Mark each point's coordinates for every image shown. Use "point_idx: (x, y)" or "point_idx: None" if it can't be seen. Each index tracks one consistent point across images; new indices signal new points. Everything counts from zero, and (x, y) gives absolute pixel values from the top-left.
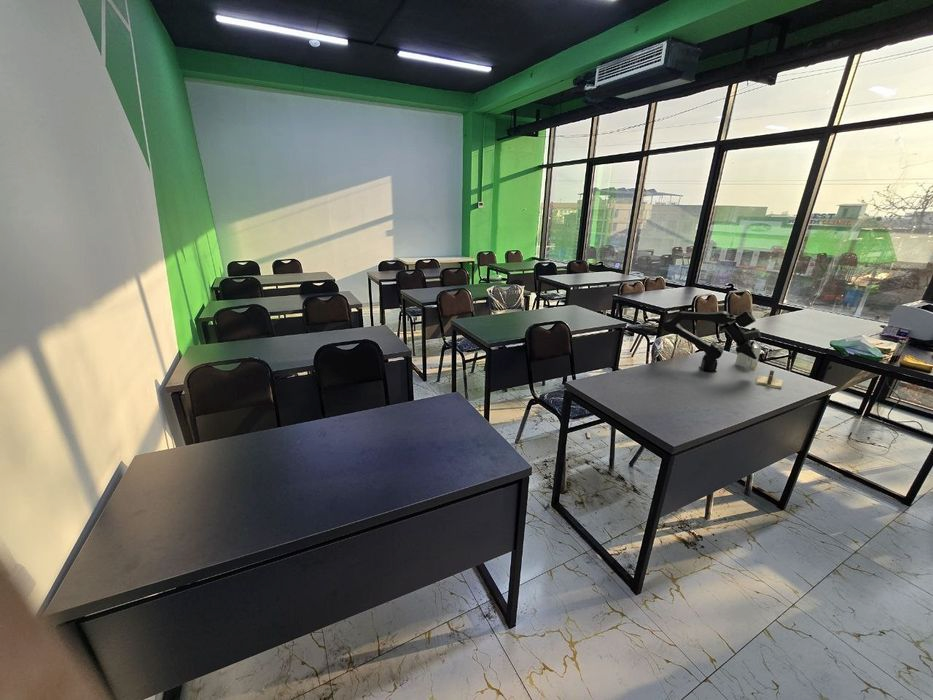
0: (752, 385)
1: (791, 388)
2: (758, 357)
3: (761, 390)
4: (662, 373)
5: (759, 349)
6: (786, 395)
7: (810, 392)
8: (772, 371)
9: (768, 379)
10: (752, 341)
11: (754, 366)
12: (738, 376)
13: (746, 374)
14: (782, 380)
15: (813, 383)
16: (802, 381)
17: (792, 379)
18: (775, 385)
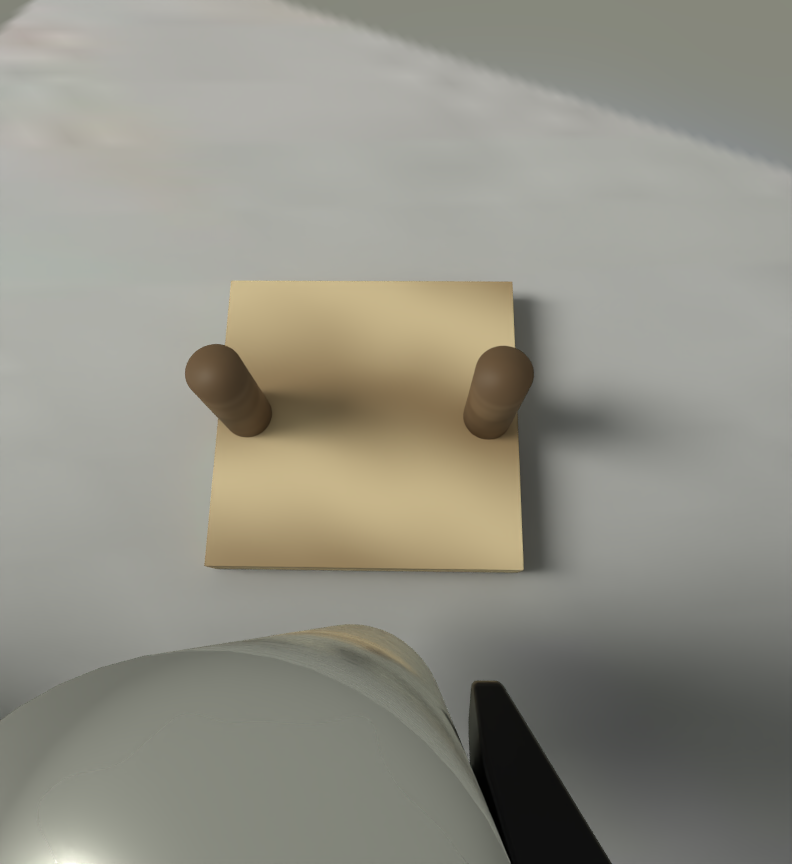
0: (633, 607)
1: (396, 206)
2: (349, 638)
3: (744, 488)
4: None
5: (401, 715)
6: (687, 241)
7: (395, 60)
8: (241, 367)
9: (515, 414)
10: None
11: (422, 663)
12: None
13: None
14: (243, 282)
15: (65, 40)
16: (59, 123)
17: (45, 207)
18: (513, 343)
